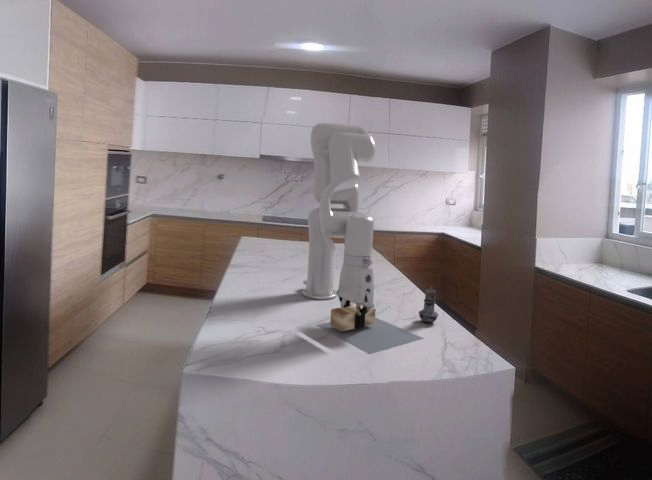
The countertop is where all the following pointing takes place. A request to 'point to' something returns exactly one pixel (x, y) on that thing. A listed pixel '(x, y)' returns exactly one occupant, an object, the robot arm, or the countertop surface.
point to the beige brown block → (349, 317)
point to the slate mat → (374, 336)
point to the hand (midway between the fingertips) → (352, 323)
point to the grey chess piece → (428, 307)
